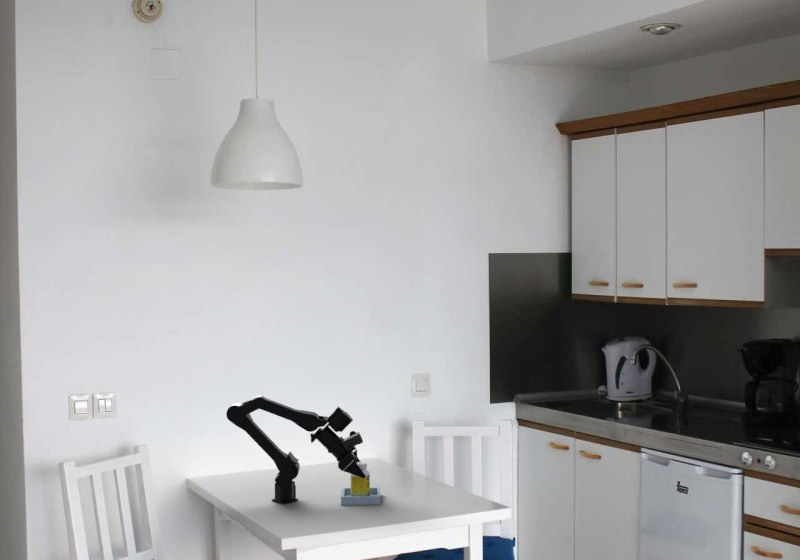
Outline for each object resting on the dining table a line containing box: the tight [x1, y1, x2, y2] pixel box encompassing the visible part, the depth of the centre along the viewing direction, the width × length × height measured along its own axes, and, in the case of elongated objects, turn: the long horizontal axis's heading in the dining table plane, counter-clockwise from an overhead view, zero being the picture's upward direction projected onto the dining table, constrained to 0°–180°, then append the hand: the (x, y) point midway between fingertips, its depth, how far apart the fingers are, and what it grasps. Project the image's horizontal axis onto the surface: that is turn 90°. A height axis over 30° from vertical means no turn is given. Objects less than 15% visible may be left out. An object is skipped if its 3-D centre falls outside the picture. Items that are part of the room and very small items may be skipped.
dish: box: [340, 486, 381, 506], centre depth 308 cm, size 13×13×3 cm
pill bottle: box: [350, 461, 371, 496], centre depth 308 cm, size 6×6×12 cm
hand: (364, 474), depth 308 cm, fingers open, 9 cm apart
